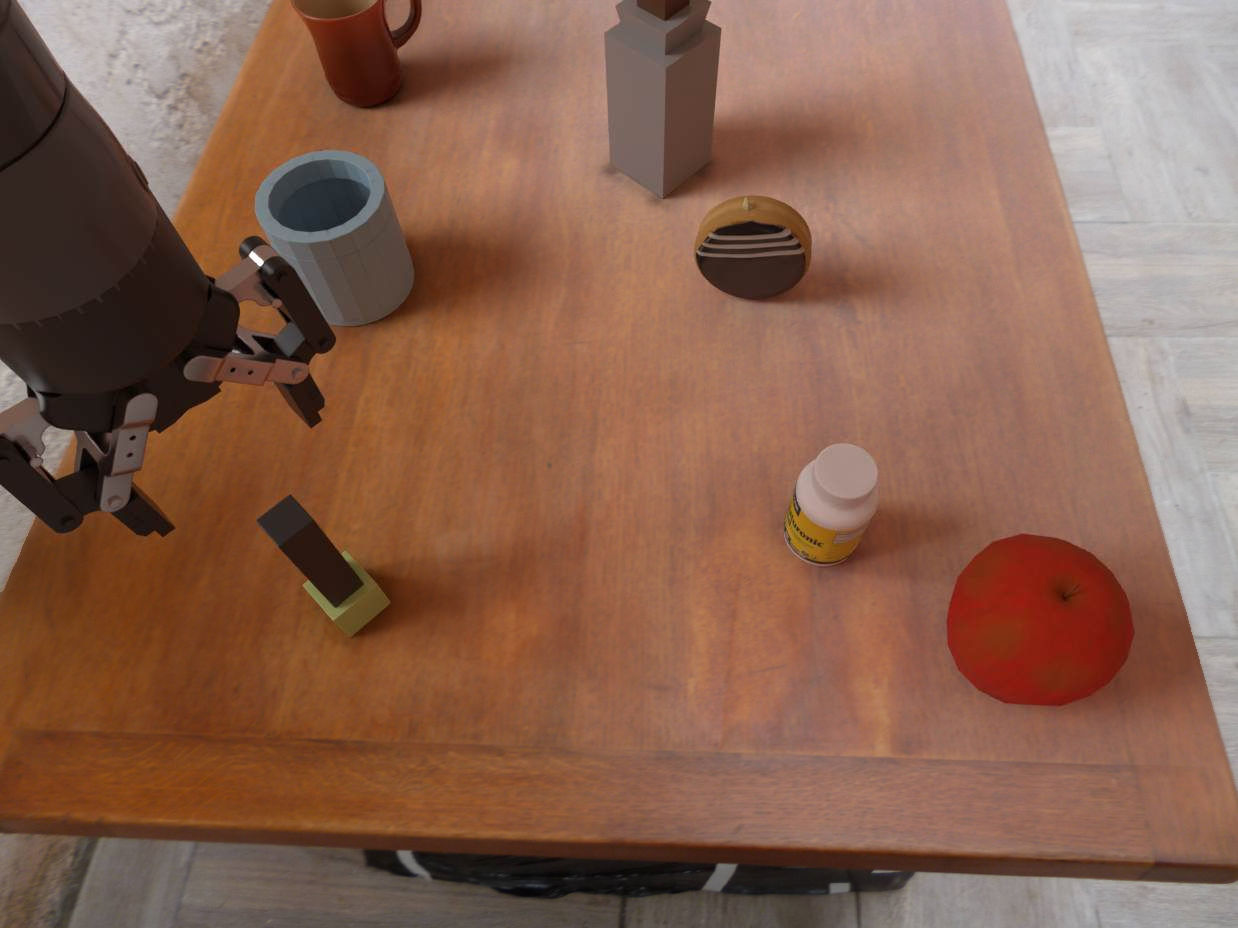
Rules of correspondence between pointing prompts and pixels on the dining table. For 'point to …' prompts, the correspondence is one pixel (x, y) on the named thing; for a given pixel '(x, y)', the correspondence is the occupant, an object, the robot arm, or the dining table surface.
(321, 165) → the gray tumbler
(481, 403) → the dining table surface
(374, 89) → the mug
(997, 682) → the apple
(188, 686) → the dining table surface
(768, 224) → the doughnut
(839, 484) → the supplement bottle
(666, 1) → the perfume bottle
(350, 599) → the brush
